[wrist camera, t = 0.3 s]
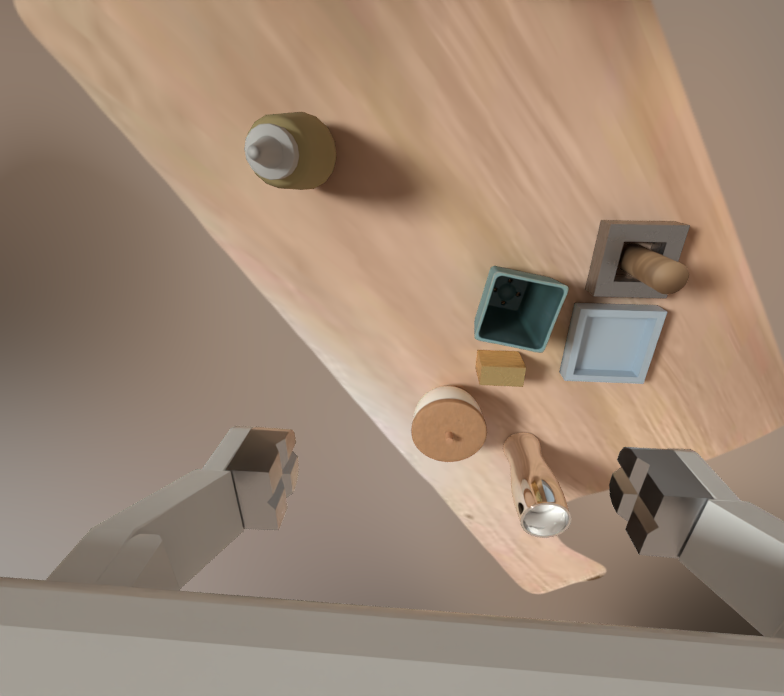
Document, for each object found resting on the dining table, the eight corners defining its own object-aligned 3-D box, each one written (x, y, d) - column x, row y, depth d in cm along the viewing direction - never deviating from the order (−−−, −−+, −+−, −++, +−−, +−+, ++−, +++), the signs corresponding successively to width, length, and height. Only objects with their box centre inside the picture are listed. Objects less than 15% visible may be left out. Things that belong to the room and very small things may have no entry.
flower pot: (484, 252, 53) (495, 271, 45) (548, 266, 53) (570, 286, 45) (466, 313, 57) (473, 339, 49) (526, 325, 57) (543, 354, 49)
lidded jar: (494, 399, 63) (505, 437, 54) (449, 440, 67) (453, 481, 59) (442, 361, 60) (445, 395, 52) (399, 406, 65) (395, 444, 56)
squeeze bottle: (292, 99, 47) (223, 72, 30) (353, 138, 48) (318, 131, 32) (267, 165, 50) (193, 172, 34) (325, 199, 51) (279, 222, 35)
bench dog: (477, 350, 59) (481, 366, 55) (518, 351, 59) (526, 367, 54) (475, 367, 60) (479, 384, 56) (515, 369, 60) (522, 386, 56)
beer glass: (514, 423, 64) (538, 495, 51) (551, 439, 65) (584, 513, 52) (492, 453, 68) (509, 528, 54) (527, 468, 68) (553, 545, 55)
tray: (574, 302, 55) (580, 309, 53) (657, 305, 54) (667, 311, 52) (559, 372, 60) (564, 380, 58) (635, 374, 59) (643, 383, 57)
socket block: (600, 220, 50) (610, 224, 47) (675, 221, 49) (690, 225, 47) (585, 289, 54) (593, 296, 51) (654, 290, 53) (666, 298, 51)
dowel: (617, 242, 51) (659, 262, 42) (646, 243, 51) (693, 263, 42) (611, 269, 53) (649, 293, 44) (638, 270, 52) (682, 294, 43)
